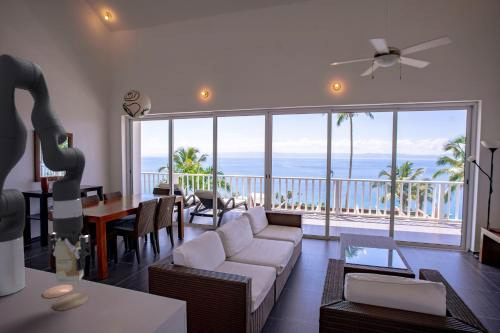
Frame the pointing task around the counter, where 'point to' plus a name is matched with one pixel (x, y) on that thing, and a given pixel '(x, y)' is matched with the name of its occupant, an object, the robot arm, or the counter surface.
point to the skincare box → (66, 263)
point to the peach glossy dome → (57, 291)
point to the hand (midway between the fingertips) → (70, 268)
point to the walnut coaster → (70, 301)
